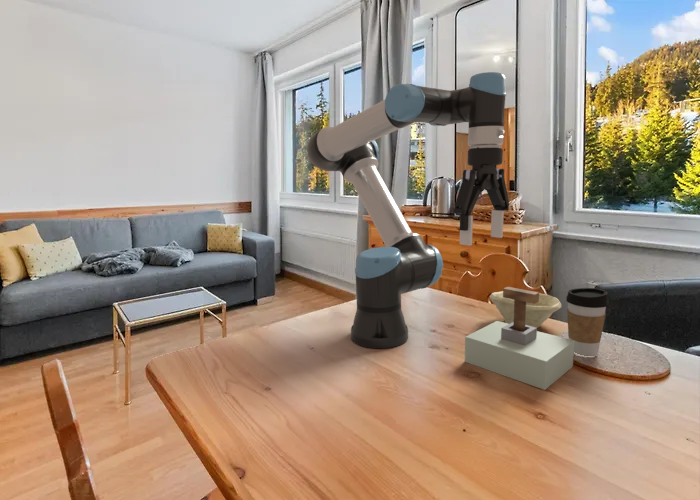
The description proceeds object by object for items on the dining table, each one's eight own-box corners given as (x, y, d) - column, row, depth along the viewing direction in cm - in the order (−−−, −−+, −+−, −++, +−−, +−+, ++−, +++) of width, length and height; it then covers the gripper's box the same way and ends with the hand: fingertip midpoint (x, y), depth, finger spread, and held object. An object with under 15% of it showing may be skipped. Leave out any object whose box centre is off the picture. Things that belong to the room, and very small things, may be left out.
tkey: (501, 335, 94) (502, 288, 92) (506, 333, 95) (508, 286, 93) (531, 344, 88) (534, 294, 86) (536, 341, 90) (539, 292, 88)
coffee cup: (610, 361, 93) (615, 296, 90) (569, 359, 94) (573, 295, 92) (596, 346, 101) (601, 286, 98) (558, 344, 102) (562, 285, 100)
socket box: (464, 361, 95) (465, 326, 93) (496, 343, 104) (497, 311, 103) (544, 390, 82) (547, 349, 80) (572, 366, 91) (575, 329, 89)
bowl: (493, 340, 117) (484, 297, 126) (562, 337, 114) (547, 292, 123) (498, 314, 106) (488, 269, 116) (573, 310, 104) (556, 264, 113)
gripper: (469, 145, 82) (466, 250, 86) (527, 147, 99) (522, 235, 103) (438, 147, 88) (436, 246, 92) (497, 149, 104) (494, 232, 108)
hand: (481, 240), depth 97 cm, fingers open, 13 cm apart
